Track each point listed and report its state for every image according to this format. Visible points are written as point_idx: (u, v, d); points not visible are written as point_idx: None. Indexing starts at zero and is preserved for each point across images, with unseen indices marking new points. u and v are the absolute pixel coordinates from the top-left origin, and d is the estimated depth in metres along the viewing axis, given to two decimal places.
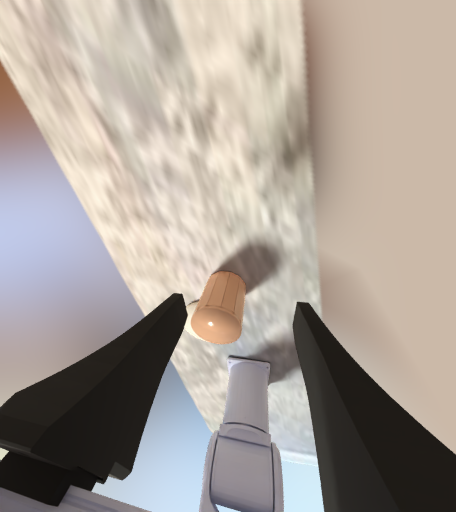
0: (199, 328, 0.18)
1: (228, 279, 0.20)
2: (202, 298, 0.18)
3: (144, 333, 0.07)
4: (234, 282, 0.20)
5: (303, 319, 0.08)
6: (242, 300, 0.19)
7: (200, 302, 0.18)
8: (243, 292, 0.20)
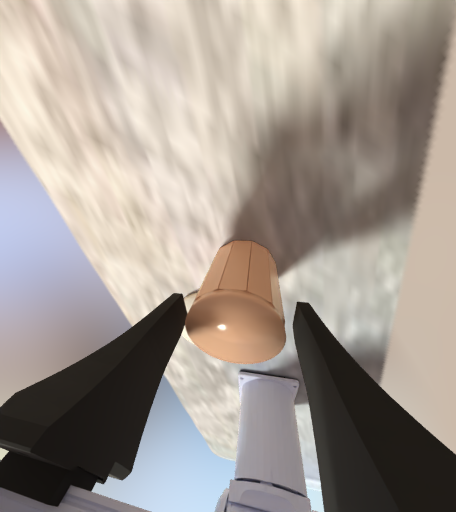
0: (202, 335, 0.09)
1: (251, 250, 0.12)
2: (207, 279, 0.10)
3: (144, 333, 0.07)
4: (262, 255, 0.12)
5: (303, 319, 0.08)
6: (277, 285, 0.11)
7: (204, 286, 0.09)
8: (276, 273, 0.12)
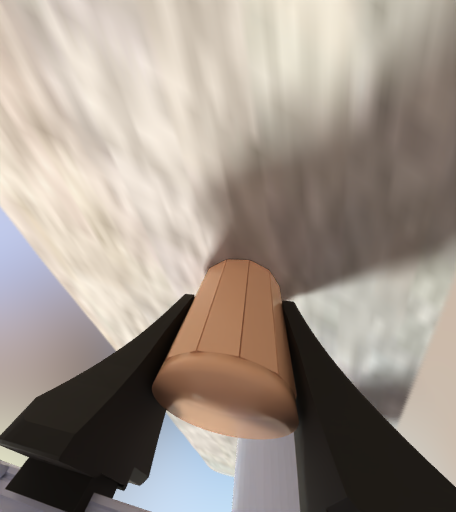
0: (177, 405, 0.07)
1: (248, 275, 0.09)
2: (187, 323, 0.07)
3: (160, 335, 0.07)
4: (262, 282, 0.09)
5: (286, 318, 0.08)
6: (283, 325, 0.08)
7: (180, 336, 0.07)
8: (280, 304, 0.09)
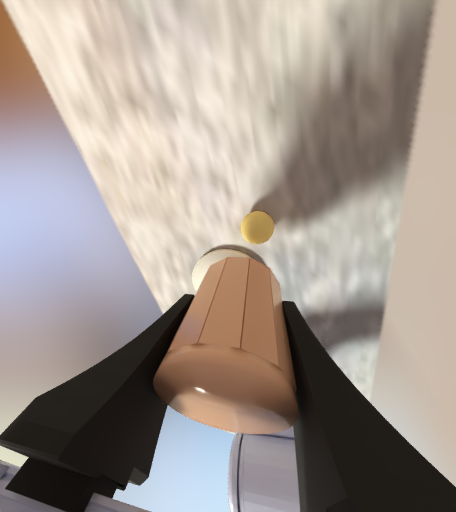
0: (178, 399, 0.07)
1: (249, 272, 0.09)
2: (188, 318, 0.07)
3: (160, 335, 0.07)
4: (262, 279, 0.09)
5: (286, 318, 0.08)
6: (284, 321, 0.08)
7: (181, 330, 0.07)
8: (280, 301, 0.09)
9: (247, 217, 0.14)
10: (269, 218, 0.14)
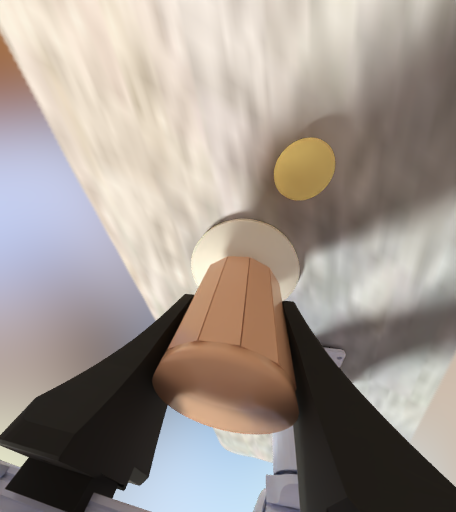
0: (177, 398, 0.07)
1: (249, 271, 0.09)
2: (188, 316, 0.07)
3: (160, 335, 0.07)
4: (262, 278, 0.09)
5: (286, 318, 0.08)
6: (283, 320, 0.08)
7: (181, 328, 0.07)
8: (280, 300, 0.09)
9: (289, 147, 0.08)
10: (330, 147, 0.08)
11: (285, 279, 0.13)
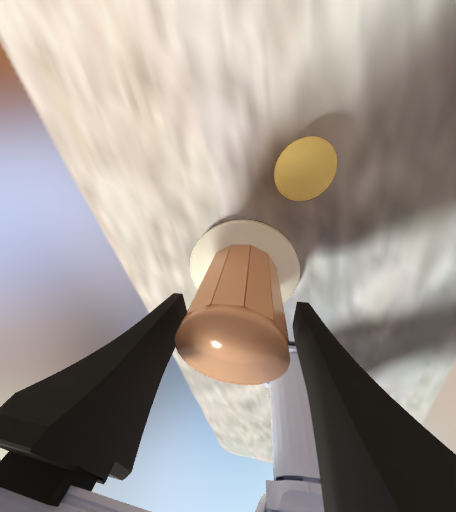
0: (194, 354, 0.08)
1: (250, 256, 0.11)
2: (200, 291, 0.09)
3: (144, 333, 0.07)
4: (262, 261, 0.11)
5: (303, 319, 0.08)
6: (280, 295, 0.10)
7: (196, 299, 0.08)
8: (277, 280, 0.11)
9: (290, 146, 0.08)
10: (332, 146, 0.08)
11: (285, 281, 0.13)
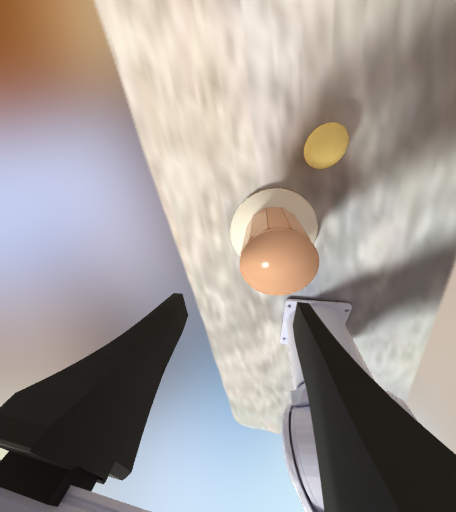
0: (251, 269, 0.12)
1: (283, 211, 0.15)
2: (254, 229, 0.13)
3: (144, 333, 0.07)
4: (292, 216, 0.15)
5: (303, 319, 0.08)
6: None
7: (253, 232, 0.12)
8: None
9: (317, 129, 0.12)
10: (345, 129, 0.12)
11: None
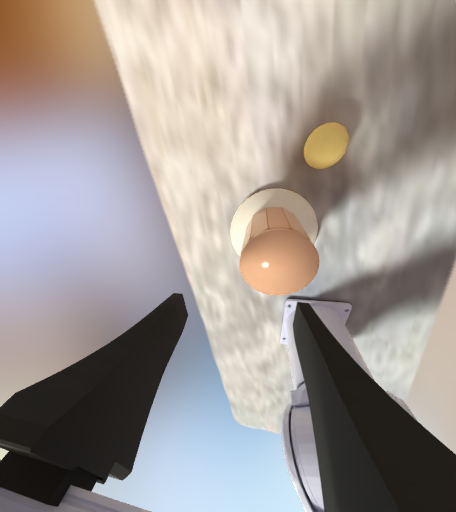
0: (251, 269, 0.12)
1: (283, 211, 0.15)
2: (254, 229, 0.13)
3: (144, 333, 0.07)
4: (292, 216, 0.15)
5: (303, 319, 0.08)
6: None
7: (253, 232, 0.12)
8: None
9: (317, 129, 0.12)
10: (345, 129, 0.12)
11: None
